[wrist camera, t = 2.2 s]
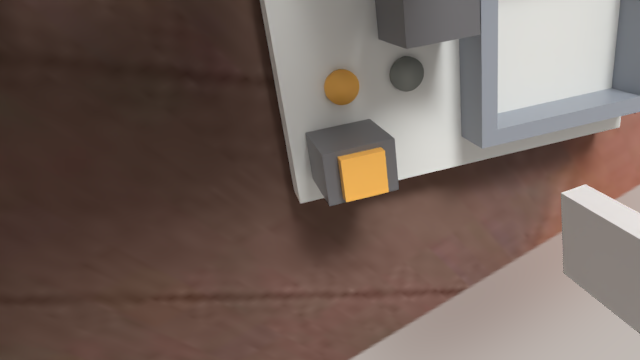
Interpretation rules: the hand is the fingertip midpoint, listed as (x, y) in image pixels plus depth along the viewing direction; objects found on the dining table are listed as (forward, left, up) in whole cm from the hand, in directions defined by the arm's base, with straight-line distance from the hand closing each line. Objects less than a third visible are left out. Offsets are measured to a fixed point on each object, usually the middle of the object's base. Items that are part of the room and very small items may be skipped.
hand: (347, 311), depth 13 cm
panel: (+13, +2, -19) cm, 23 cm away
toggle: (+10, +5, -17) cm, 20 cm away
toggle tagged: (+4, -2, -17) cm, 18 cm away
